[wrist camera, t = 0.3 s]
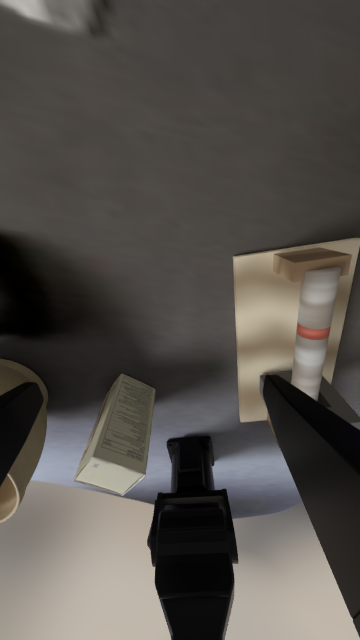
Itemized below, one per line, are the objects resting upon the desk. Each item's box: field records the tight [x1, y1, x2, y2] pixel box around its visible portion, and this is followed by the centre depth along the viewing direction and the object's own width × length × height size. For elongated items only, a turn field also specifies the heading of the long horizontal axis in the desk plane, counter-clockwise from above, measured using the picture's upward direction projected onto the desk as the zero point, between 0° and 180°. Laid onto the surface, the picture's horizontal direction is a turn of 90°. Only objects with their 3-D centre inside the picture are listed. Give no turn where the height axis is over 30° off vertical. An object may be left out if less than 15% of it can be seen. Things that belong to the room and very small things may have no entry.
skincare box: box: [74, 373, 156, 496], centre depth 23 cm, size 5×4×10 cm
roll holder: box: [233, 238, 360, 448], centre depth 22 cm, size 22×11×6 cm, turn 9°
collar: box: [259, 372, 360, 430], centre depth 22 cm, size 2×6×7 cm, turn 98°
